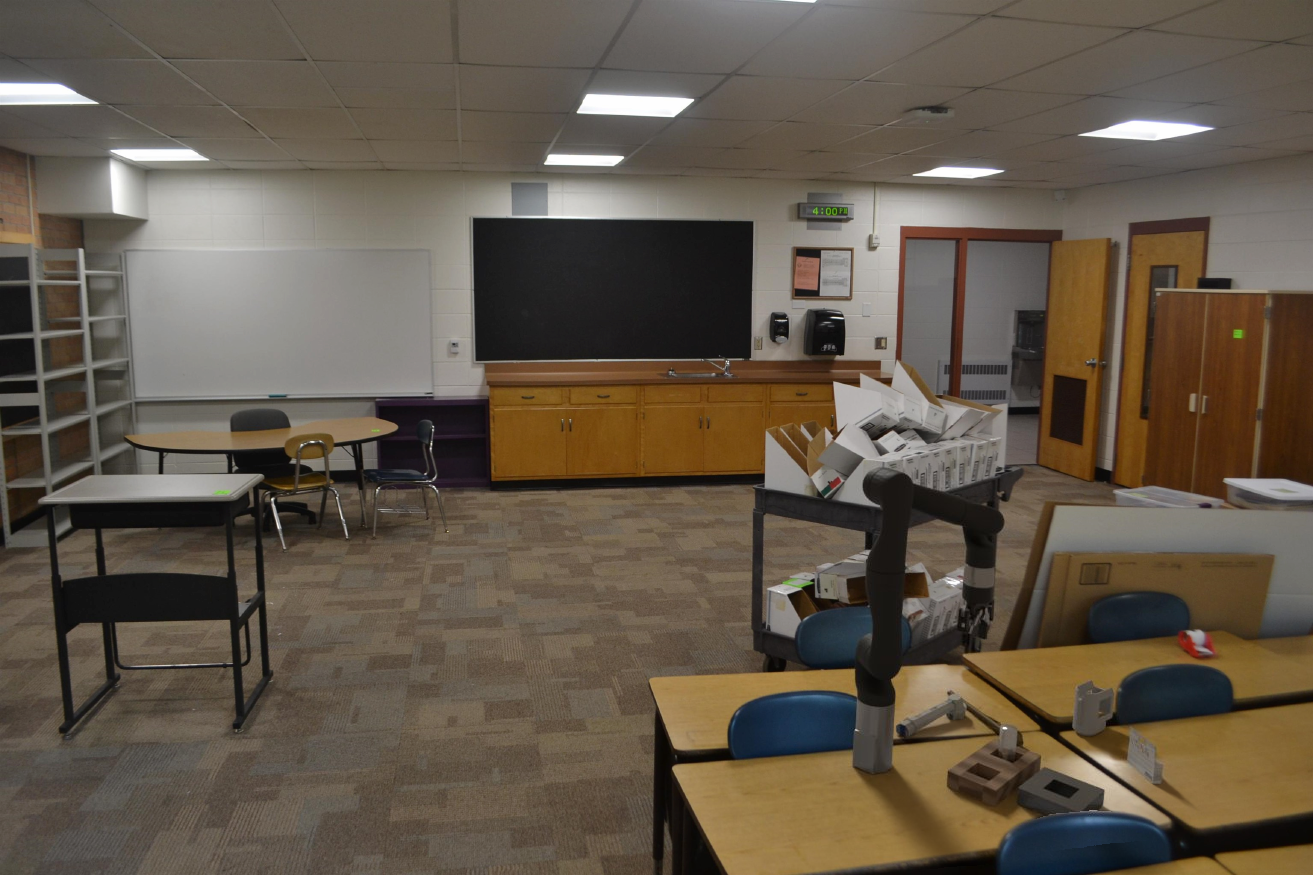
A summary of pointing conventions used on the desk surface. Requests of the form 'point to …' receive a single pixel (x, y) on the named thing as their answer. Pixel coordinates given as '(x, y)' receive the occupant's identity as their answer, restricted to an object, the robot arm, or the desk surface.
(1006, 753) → the grey tall bar
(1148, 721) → the desk surface
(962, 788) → the rack
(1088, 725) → the cable organizer
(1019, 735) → the brown knobbed rod
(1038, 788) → the socket block
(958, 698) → the grey piece
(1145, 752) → the ink cartridge box
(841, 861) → the desk surface
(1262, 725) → the desk surface
